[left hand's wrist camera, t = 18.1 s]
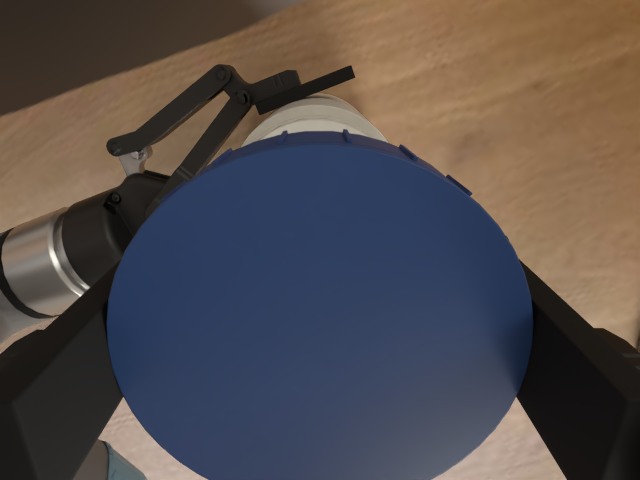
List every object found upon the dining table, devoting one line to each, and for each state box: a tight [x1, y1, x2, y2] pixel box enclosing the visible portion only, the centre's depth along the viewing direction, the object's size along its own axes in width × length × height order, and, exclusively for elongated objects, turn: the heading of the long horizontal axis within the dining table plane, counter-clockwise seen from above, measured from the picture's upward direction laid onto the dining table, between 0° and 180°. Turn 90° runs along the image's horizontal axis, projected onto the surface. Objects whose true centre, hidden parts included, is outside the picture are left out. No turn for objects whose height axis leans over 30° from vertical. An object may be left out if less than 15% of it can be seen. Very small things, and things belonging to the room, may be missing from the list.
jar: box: [240, 93, 389, 148], centre depth 29 cm, size 10×10×16 cm
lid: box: [106, 129, 534, 480], centre depth 11 cm, size 10×10×2 cm
